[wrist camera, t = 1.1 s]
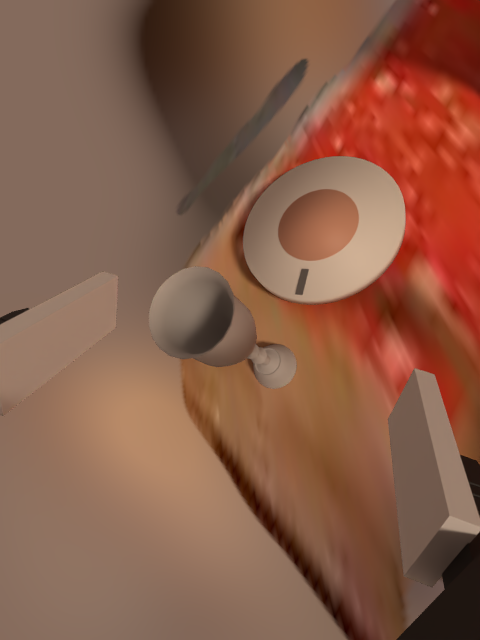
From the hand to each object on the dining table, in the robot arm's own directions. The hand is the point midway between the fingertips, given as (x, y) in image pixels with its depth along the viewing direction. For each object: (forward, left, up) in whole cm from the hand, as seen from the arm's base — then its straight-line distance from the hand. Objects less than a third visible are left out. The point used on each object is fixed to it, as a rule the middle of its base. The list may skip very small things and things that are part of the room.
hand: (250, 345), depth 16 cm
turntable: (-19, -7, -23) cm, 30 cm away
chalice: (-3, -9, -25) cm, 26 cm away
